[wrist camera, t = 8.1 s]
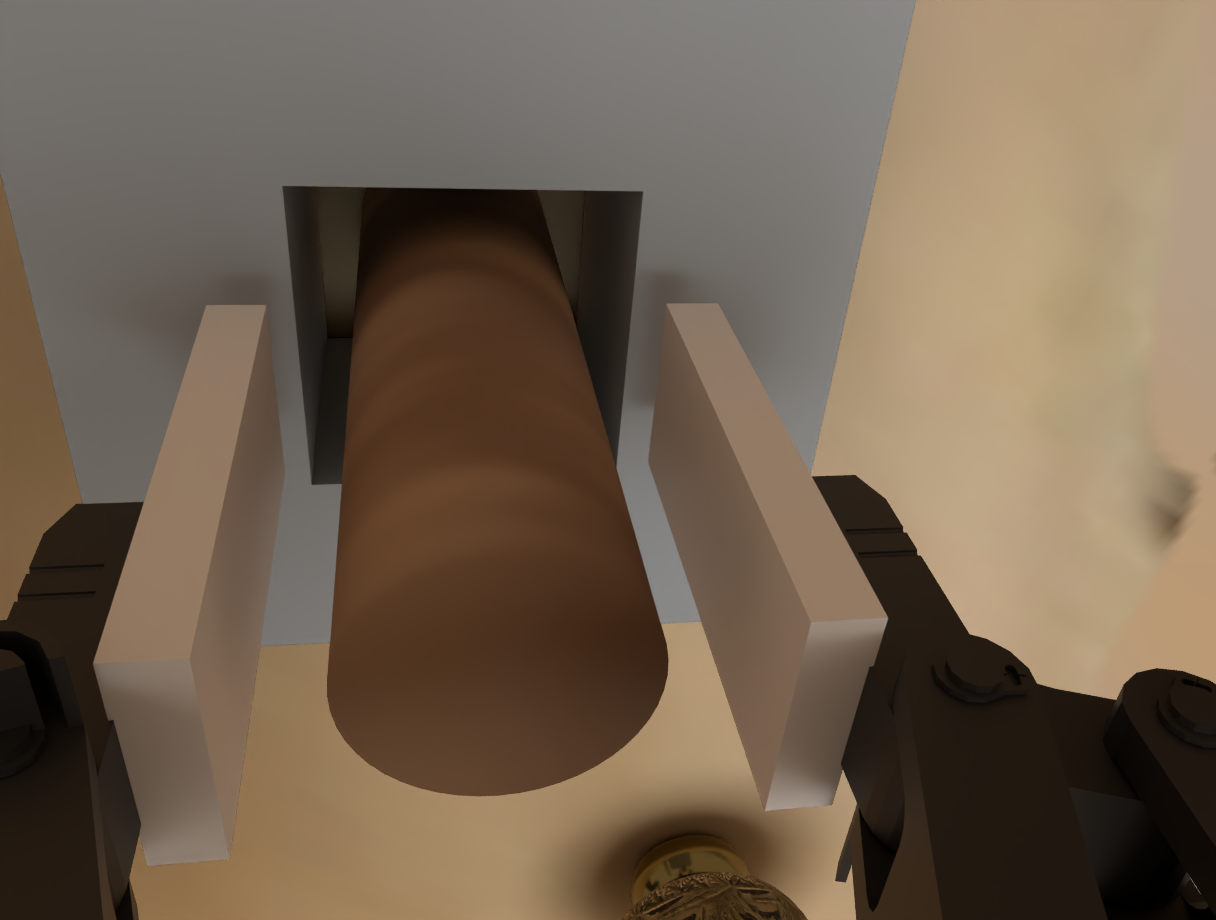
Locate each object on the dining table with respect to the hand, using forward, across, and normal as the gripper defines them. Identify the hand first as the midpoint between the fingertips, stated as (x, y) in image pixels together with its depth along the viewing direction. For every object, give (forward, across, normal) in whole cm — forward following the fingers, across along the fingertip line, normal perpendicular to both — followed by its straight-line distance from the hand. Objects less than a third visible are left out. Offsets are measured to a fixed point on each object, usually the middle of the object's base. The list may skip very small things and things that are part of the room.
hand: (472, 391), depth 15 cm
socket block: (+6, 0, 0) cm, 6 cm away
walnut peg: (+6, 0, 0) cm, 6 cm away
